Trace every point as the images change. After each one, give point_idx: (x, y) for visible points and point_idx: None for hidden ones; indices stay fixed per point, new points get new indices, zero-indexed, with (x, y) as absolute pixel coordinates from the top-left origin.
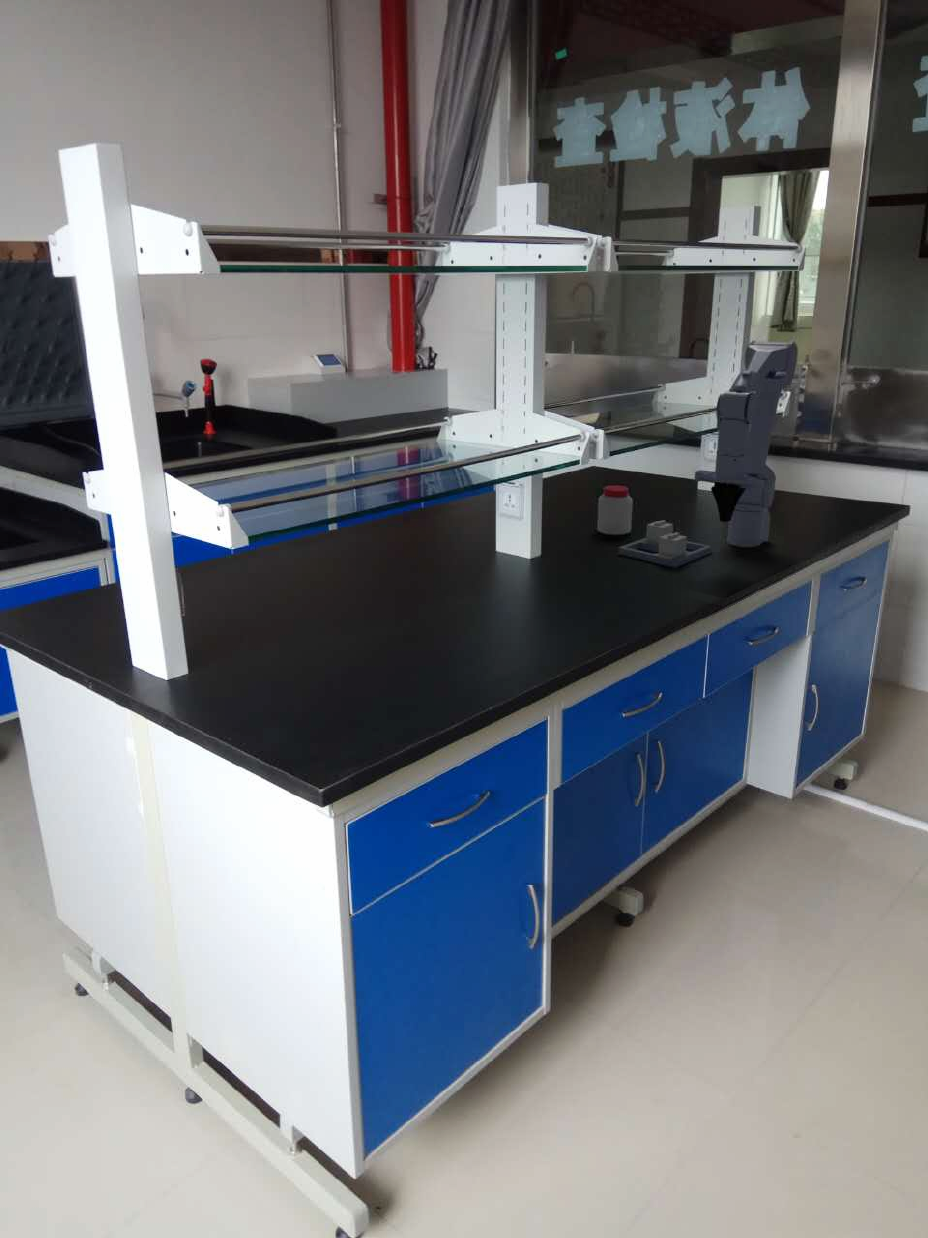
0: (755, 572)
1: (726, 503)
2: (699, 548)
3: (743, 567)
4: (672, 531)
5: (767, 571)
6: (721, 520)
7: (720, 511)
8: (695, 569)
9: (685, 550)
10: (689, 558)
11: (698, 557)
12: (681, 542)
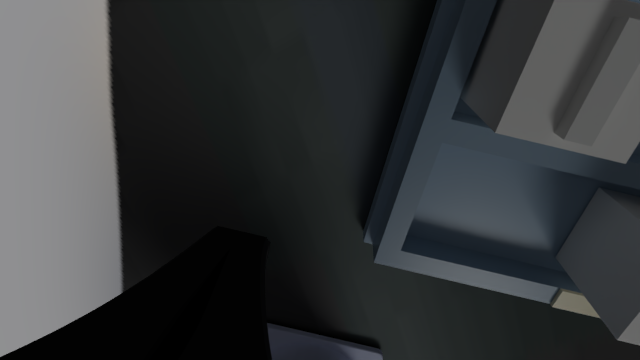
0: (158, 135)
1: (100, 335)
2: (425, 247)
3: (222, 174)
4: (594, 308)
5: (130, 168)
6: (251, 235)
7: (237, 280)
8: (387, 47)
9: (471, 102)
10: (433, 79)
11: (404, 155)
12: (514, 62)
